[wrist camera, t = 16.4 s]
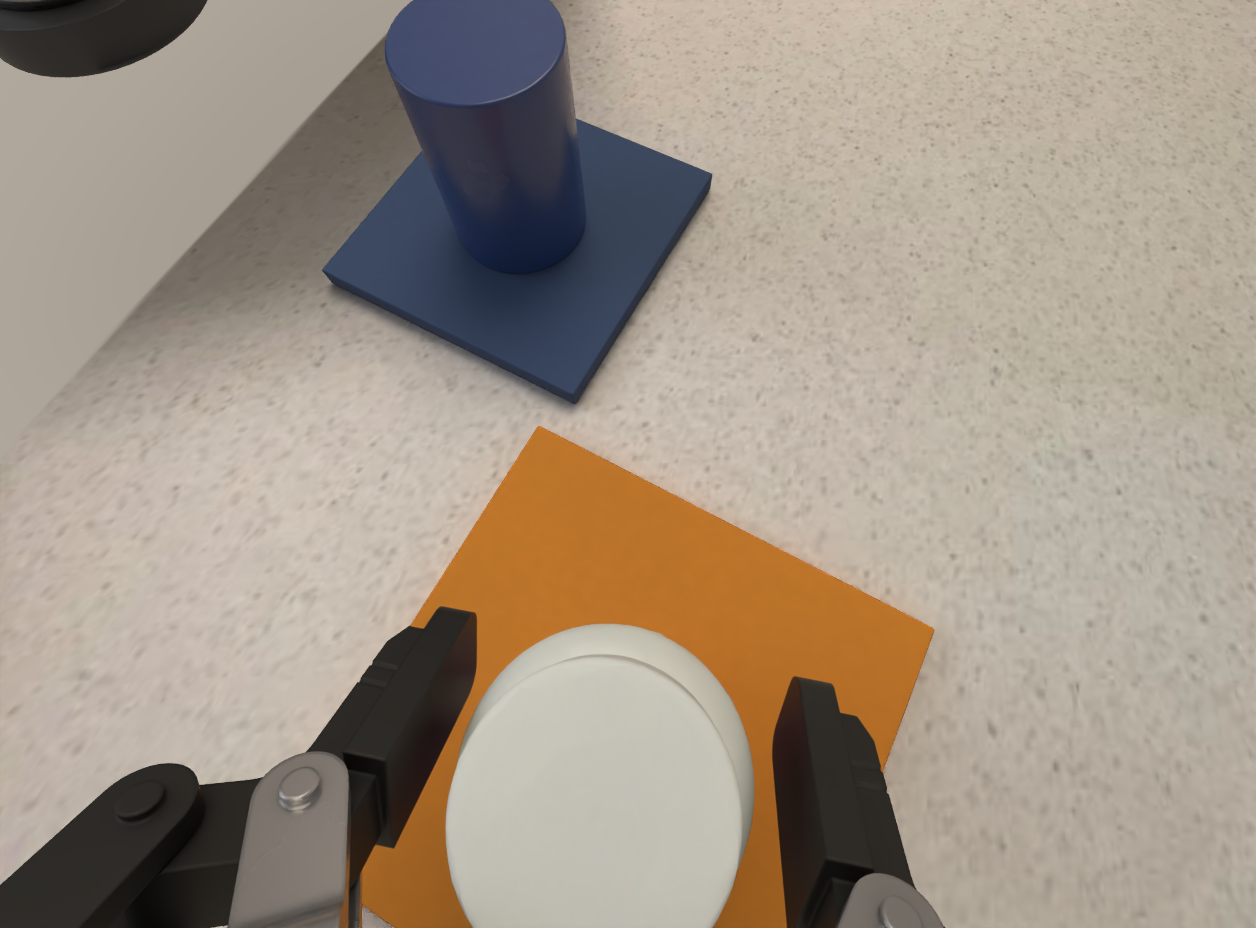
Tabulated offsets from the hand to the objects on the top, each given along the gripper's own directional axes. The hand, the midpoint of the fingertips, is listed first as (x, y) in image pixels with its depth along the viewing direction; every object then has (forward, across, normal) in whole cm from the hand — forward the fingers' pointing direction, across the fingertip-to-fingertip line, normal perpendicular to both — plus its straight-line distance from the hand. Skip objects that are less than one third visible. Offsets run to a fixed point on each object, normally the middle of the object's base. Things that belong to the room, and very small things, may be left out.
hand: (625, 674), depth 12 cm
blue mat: (+15, +7, -6) cm, 18 cm away
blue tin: (+15, +7, -7) cm, 18 cm away
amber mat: (+3, 0, +6) cm, 6 cm away
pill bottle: (+3, 0, +5) cm, 6 cm away
